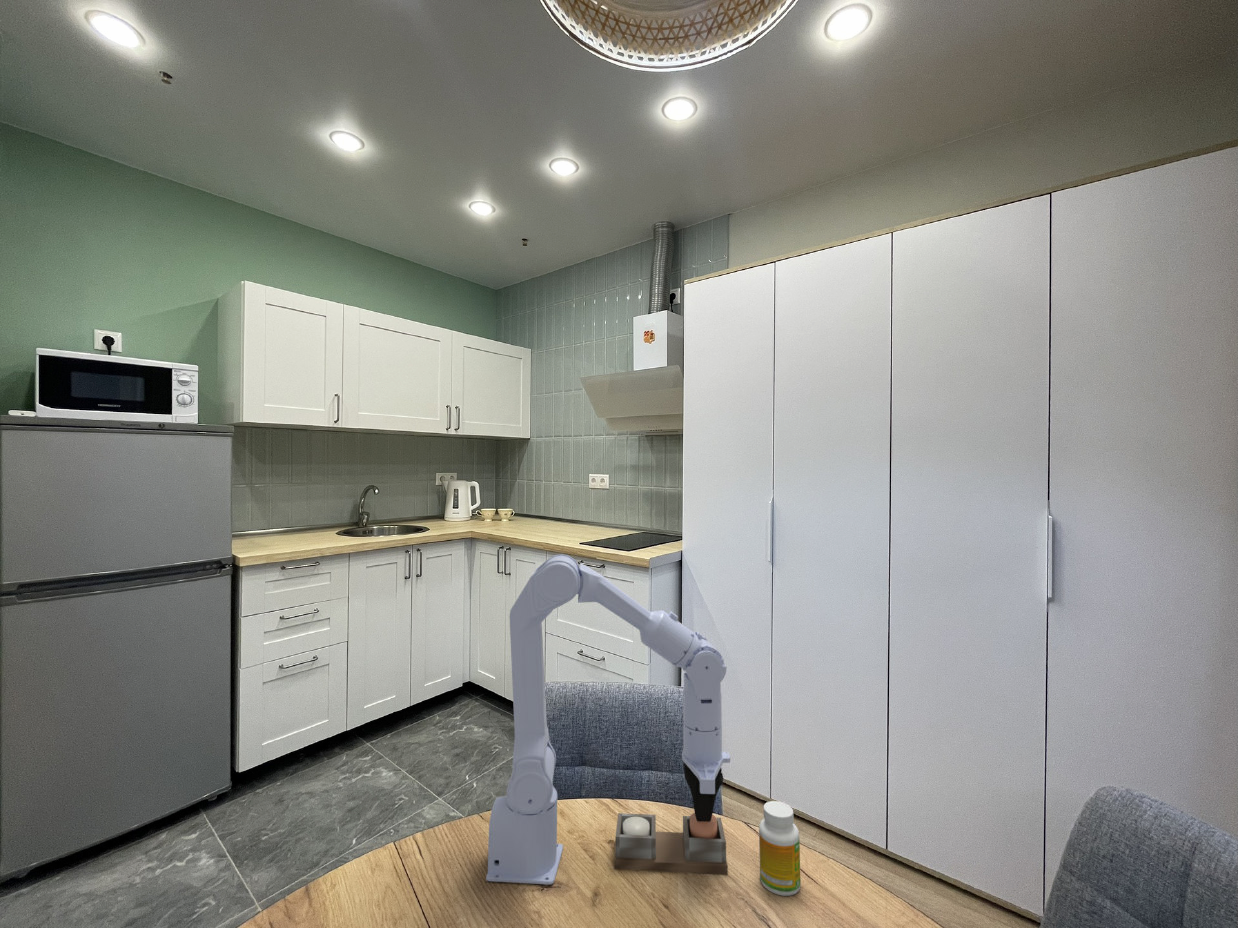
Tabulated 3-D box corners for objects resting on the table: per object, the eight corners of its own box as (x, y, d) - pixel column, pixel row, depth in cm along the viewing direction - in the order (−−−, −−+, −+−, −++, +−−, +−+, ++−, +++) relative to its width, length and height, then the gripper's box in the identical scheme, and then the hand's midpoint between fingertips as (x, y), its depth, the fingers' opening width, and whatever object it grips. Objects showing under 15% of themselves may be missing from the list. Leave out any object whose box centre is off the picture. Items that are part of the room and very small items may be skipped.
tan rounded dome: (690, 844, 75) (690, 827, 75) (689, 827, 79) (689, 810, 79) (718, 845, 75) (718, 828, 75) (715, 828, 79) (715, 812, 79)
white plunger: (621, 849, 75) (622, 832, 76) (623, 832, 79) (623, 816, 80) (649, 851, 75) (649, 833, 75) (649, 833, 79) (649, 817, 79)
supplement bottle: (803, 900, 68) (801, 822, 69) (761, 894, 69) (759, 817, 70) (797, 872, 73) (796, 800, 74) (758, 866, 74) (757, 796, 75)
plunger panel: (614, 869, 74) (614, 839, 74) (617, 837, 81) (617, 810, 81) (727, 874, 73) (727, 844, 73) (721, 842, 80) (721, 815, 80)
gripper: (736, 746, 71) (738, 852, 69) (723, 706, 85) (724, 792, 84) (684, 744, 71) (685, 849, 70) (679, 704, 85) (680, 791, 84)
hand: (703, 818), depth 77 cm, fingers closed
